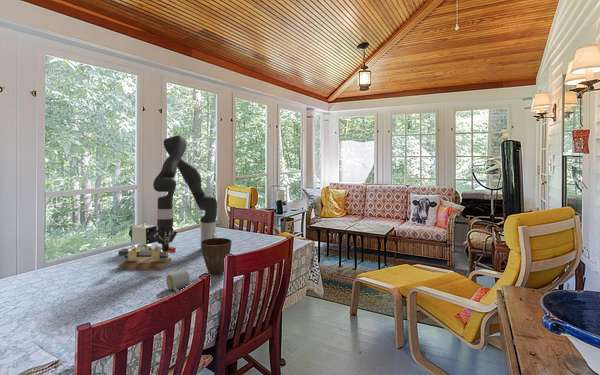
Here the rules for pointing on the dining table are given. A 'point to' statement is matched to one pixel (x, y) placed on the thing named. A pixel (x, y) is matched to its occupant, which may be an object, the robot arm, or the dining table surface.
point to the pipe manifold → (146, 255)
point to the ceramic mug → (178, 280)
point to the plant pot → (215, 254)
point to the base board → (144, 264)
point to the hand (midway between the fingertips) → (165, 251)
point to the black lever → (126, 250)
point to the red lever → (171, 250)
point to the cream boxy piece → (143, 235)
